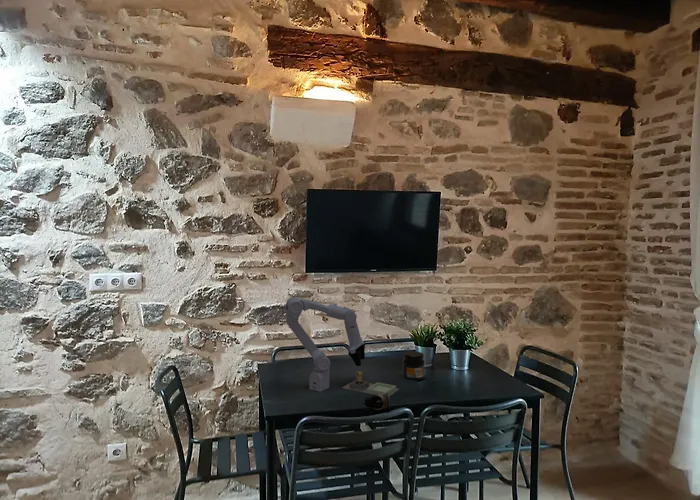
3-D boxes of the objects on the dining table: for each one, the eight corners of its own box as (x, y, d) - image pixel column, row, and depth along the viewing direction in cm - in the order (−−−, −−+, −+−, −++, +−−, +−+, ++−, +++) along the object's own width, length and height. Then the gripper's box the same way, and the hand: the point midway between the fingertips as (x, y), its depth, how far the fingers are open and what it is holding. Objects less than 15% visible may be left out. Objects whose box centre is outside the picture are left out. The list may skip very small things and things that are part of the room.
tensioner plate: (388, 398, 217) (388, 397, 217) (341, 389, 228) (341, 387, 228) (399, 390, 227) (399, 388, 227) (354, 382, 238) (354, 380, 238)
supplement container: (422, 382, 238) (422, 357, 237) (400, 380, 241) (400, 355, 241) (426, 376, 248) (426, 352, 247) (405, 373, 251) (405, 350, 251)
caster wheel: (365, 408, 212) (389, 405, 212) (366, 413, 201) (391, 409, 201) (363, 392, 213) (387, 388, 213) (364, 396, 202) (388, 392, 202)
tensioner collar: (362, 389, 226) (362, 386, 226) (349, 386, 230) (349, 383, 229) (369, 384, 232) (369, 381, 232) (356, 382, 235) (356, 379, 235)
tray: (386, 395, 218) (386, 392, 218) (367, 392, 223) (367, 388, 222) (395, 388, 227) (395, 385, 227) (377, 385, 231) (377, 382, 231)
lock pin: (360, 387, 228) (360, 373, 228) (354, 386, 230) (354, 372, 230) (364, 385, 231) (364, 371, 231) (357, 384, 233) (357, 370, 233)
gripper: (357, 338, 223) (365, 367, 225) (365, 327, 237) (372, 354, 239) (343, 341, 225) (350, 369, 227) (351, 330, 239) (358, 356, 241)
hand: (360, 362), depth 233 cm, fingers open, 7 cm apart
